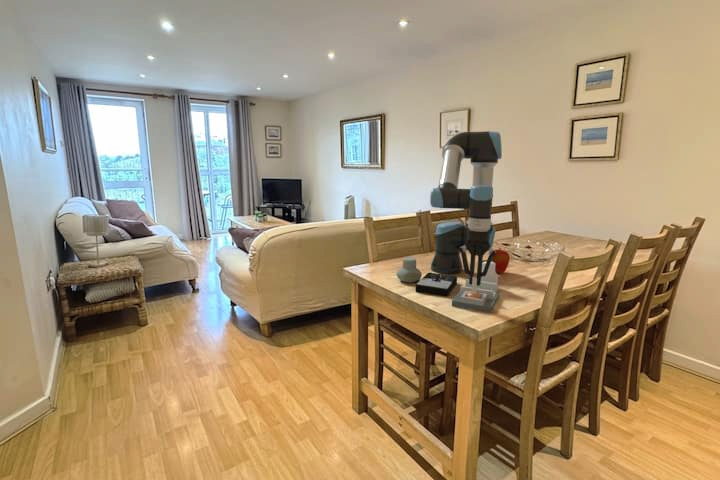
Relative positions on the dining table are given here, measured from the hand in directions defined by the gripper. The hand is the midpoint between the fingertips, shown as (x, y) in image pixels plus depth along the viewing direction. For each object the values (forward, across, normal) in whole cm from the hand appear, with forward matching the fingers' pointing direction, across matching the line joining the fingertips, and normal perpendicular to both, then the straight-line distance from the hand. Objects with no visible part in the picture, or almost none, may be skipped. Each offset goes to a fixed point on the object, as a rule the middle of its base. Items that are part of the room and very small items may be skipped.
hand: (474, 293), depth 137 cm
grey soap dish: (+5, 0, +6) cm, 7 cm away
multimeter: (+5, -18, +14) cm, 23 cm away
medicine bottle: (+5, +1, +22) cm, 22 cm away
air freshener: (+5, -31, +17) cm, 36 cm away
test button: (+2, 0, 0) cm, 2 cm away
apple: (+5, +2, +49) cm, 49 cm away
